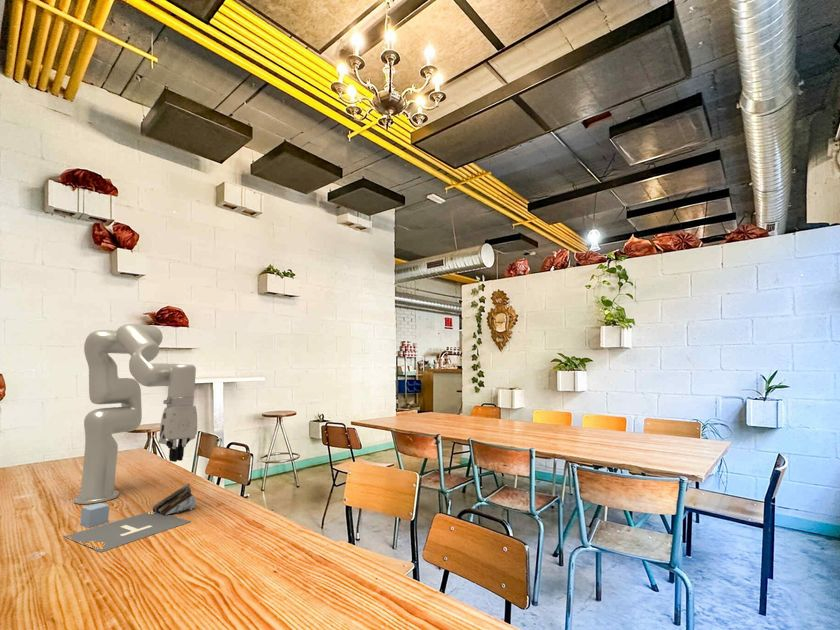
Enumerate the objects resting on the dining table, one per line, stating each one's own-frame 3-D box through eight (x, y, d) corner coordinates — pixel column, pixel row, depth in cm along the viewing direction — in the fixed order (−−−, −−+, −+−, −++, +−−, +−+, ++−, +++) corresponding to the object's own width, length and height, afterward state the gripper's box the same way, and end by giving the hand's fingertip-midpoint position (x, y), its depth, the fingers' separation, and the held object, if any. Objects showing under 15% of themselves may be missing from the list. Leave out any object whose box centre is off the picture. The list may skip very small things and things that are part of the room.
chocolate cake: (159, 520, 127) (193, 487, 134) (149, 509, 131) (182, 477, 138) (177, 533, 133) (208, 501, 140) (167, 522, 137) (198, 491, 144)
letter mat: (63, 536, 114) (63, 536, 114) (153, 510, 135) (153, 510, 135) (100, 552, 104) (100, 551, 104) (191, 521, 125) (191, 521, 125)
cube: (80, 525, 123) (81, 507, 123) (99, 519, 127) (101, 502, 128) (88, 528, 120) (90, 510, 121) (107, 522, 125) (109, 505, 125)
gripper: (163, 404, 126) (157, 467, 124) (209, 401, 139) (205, 457, 137) (149, 403, 130) (143, 464, 127) (195, 400, 143) (191, 455, 141)
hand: (175, 460), depth 132 cm, fingers closed
